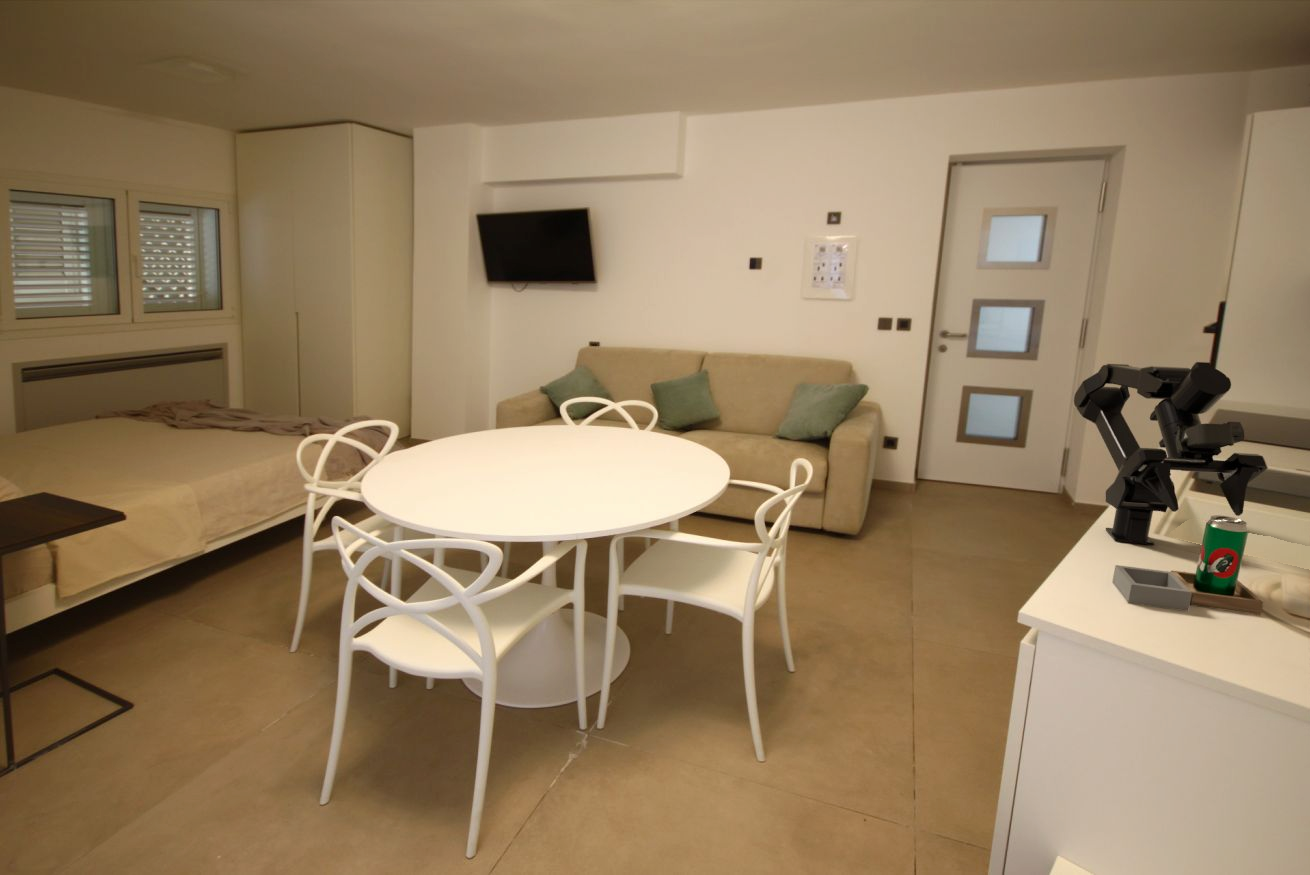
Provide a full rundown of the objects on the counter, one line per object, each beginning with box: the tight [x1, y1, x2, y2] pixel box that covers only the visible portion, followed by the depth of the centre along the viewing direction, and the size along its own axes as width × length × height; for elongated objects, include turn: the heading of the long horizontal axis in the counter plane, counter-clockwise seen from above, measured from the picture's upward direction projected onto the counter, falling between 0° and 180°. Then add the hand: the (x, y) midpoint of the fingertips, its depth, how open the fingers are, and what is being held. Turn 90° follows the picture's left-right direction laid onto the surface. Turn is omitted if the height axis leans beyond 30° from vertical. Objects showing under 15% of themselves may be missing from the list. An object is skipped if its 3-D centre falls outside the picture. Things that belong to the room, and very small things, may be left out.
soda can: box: [1193, 514, 1249, 596], centre depth 109 cm, size 5×5×12 cm
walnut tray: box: [1170, 570, 1265, 615], centre depth 110 cm, size 9×9×2 cm
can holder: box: [1111, 564, 1192, 612], centre depth 110 cm, size 8×8×3 cm
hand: (1207, 512), depth 112 cm, fingers open, 9 cm apart
